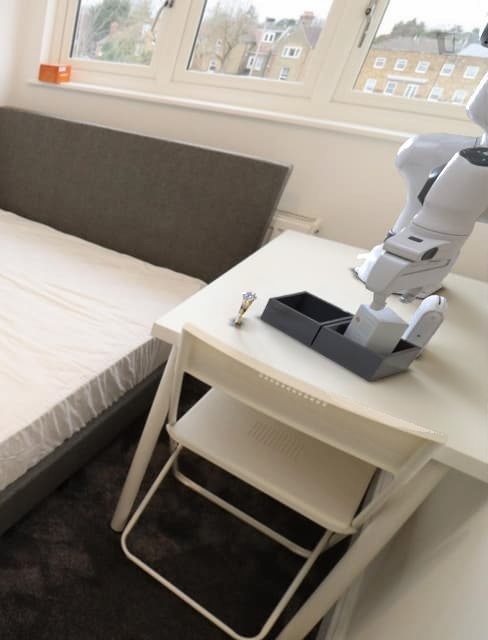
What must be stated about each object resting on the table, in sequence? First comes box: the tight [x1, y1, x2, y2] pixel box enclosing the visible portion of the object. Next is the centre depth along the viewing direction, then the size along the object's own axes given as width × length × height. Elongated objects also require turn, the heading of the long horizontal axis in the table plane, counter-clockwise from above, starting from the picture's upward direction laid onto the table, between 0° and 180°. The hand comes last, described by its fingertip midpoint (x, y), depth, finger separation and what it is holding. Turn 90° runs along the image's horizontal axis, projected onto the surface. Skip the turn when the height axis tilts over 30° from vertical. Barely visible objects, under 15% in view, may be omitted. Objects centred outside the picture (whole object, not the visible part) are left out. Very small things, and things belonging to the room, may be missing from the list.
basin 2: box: [310, 319, 422, 382], centre depth 108 cm, size 13×13×6 cm
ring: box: [234, 290, 258, 324], centre depth 118 cm, size 7×3×8 cm, turn 139°
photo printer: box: [401, 294, 449, 358], centre depth 111 cm, size 10×4×12 cm, turn 140°
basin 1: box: [259, 290, 355, 347], centre depth 118 cm, size 13×13×6 cm
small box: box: [343, 303, 409, 356], centre depth 107 cm, size 8×6×10 cm
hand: (390, 305), depth 103 cm, fingers open, 8 cm apart
